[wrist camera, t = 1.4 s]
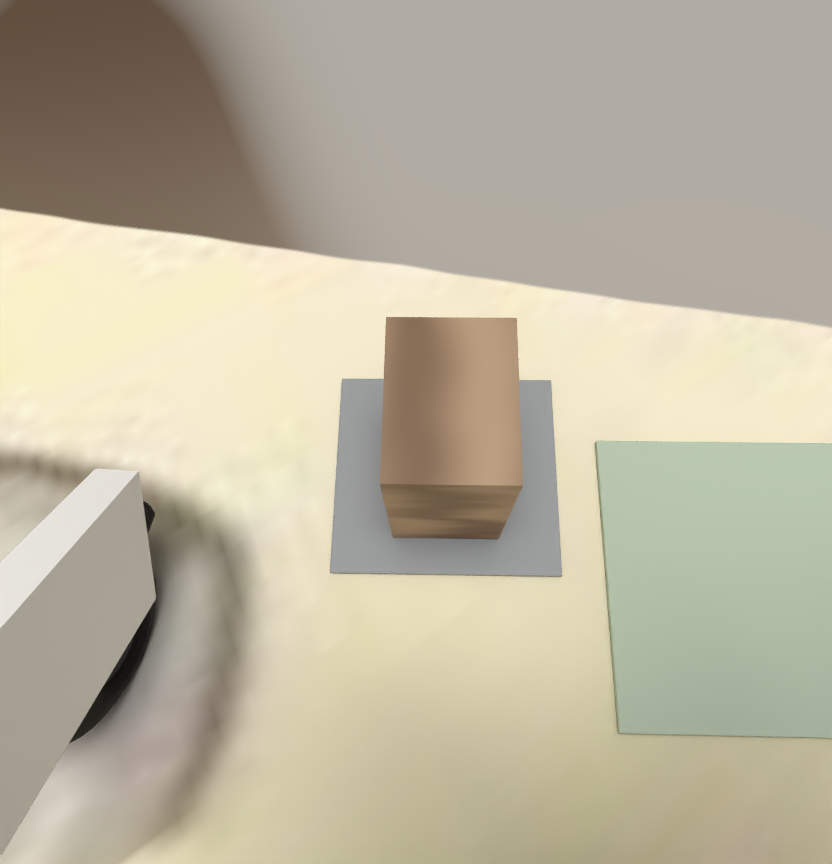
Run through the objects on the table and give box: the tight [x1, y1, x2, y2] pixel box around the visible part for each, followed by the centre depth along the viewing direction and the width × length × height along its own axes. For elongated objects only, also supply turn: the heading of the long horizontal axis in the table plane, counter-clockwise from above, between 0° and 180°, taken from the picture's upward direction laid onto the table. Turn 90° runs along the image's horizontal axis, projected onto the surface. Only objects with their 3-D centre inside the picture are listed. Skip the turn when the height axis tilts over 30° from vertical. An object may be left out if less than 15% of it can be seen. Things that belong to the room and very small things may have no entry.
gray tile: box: [330, 379, 562, 577], centre depth 40 cm, size 13×12×1 cm
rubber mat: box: [595, 441, 832, 738], centre depth 38 cm, size 14×16×1 cm
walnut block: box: [380, 317, 523, 539], centre depth 35 cm, size 6×8×11 cm
